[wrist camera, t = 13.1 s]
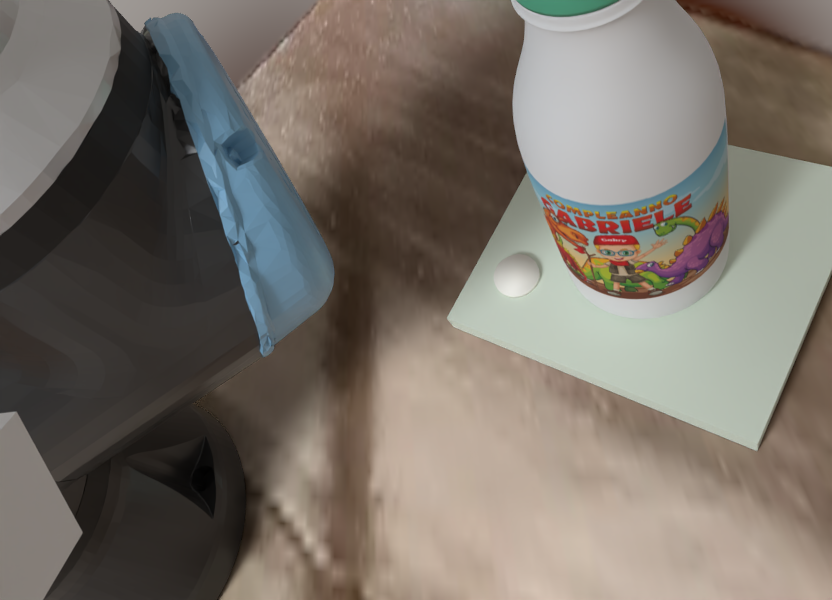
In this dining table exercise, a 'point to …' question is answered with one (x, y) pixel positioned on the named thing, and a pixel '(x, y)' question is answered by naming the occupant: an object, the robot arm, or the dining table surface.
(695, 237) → the milk bottle
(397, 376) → the dining table surface
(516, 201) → the card
